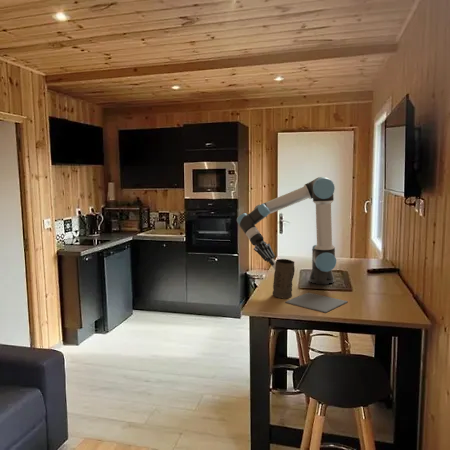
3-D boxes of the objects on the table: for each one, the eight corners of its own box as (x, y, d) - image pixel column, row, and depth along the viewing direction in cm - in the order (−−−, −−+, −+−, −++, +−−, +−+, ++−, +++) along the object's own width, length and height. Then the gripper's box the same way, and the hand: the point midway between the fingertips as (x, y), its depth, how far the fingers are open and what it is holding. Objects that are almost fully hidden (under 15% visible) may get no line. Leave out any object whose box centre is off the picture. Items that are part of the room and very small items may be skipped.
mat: (285, 302, 220) (285, 301, 220) (308, 293, 236) (308, 292, 236) (325, 312, 204) (325, 311, 204) (347, 302, 220) (347, 301, 219)
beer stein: (286, 300, 224) (290, 264, 222) (268, 295, 230) (272, 260, 227) (297, 294, 238) (301, 259, 235) (280, 289, 243) (283, 256, 240)
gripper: (258, 239, 250) (280, 271, 241) (244, 242, 241) (266, 275, 232) (265, 231, 246) (288, 263, 237) (250, 233, 237) (274, 267, 228)
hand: (277, 269), depth 234 cm, fingers closed
